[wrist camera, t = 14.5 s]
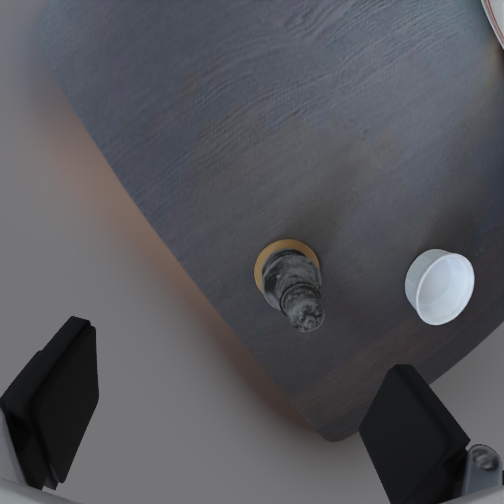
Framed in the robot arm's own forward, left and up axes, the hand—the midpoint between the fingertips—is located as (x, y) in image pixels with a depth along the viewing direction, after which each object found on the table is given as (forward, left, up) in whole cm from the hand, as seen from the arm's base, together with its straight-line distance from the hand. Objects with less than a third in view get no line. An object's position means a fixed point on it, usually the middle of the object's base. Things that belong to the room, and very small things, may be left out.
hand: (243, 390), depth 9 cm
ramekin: (+25, -2, -25) cm, 36 cm away
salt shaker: (+6, -4, -25) cm, 26 cm away
